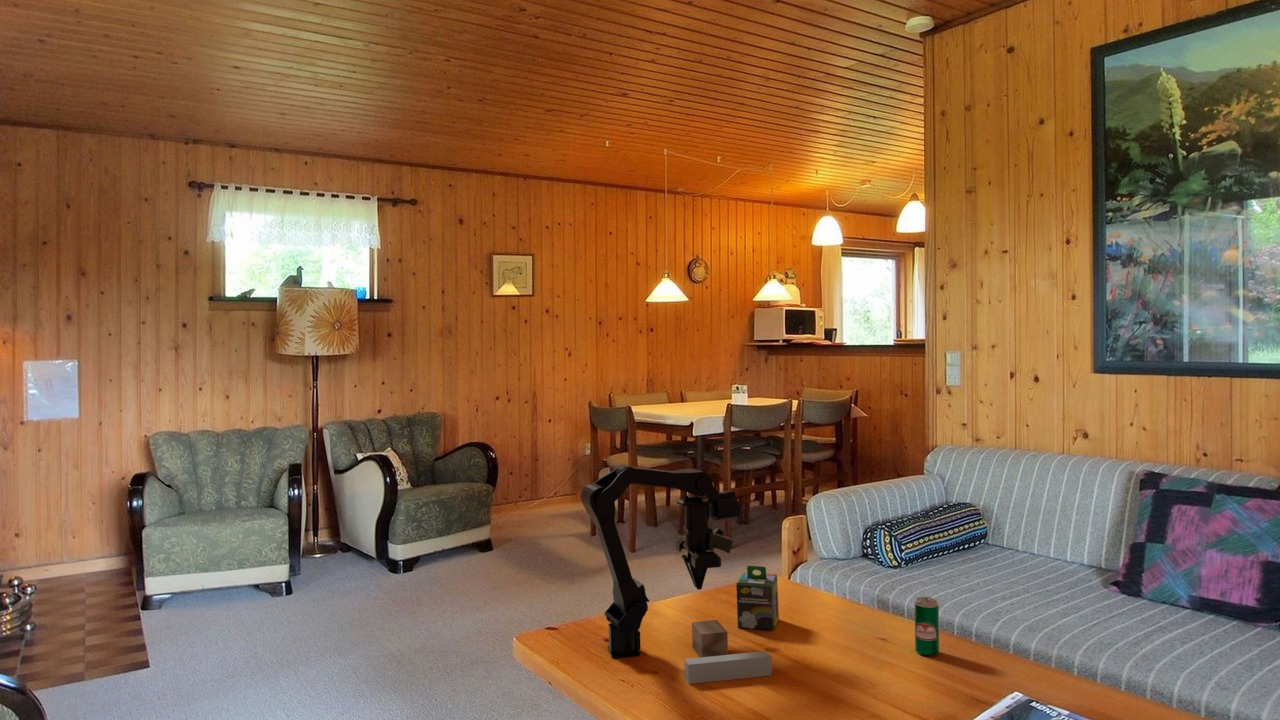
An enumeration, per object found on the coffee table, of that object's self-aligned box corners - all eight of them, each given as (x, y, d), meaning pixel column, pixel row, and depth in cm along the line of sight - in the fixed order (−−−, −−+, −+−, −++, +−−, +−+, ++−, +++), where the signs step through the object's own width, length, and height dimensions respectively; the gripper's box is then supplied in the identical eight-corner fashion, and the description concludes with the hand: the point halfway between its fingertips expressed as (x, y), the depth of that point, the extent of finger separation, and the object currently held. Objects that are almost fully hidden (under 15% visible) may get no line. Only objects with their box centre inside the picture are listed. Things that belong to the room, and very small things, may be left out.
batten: (688, 684, 160) (688, 664, 160) (684, 678, 163) (684, 659, 163) (771, 675, 164) (771, 656, 164) (766, 669, 167) (766, 651, 167)
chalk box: (779, 619, 198) (778, 561, 198) (774, 632, 189) (773, 571, 189) (743, 616, 201) (742, 558, 201) (736, 628, 192) (735, 568, 192)
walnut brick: (701, 661, 172) (701, 634, 172) (692, 647, 180) (692, 622, 180) (727, 658, 174) (727, 631, 174) (717, 645, 181) (716, 619, 181)
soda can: (913, 655, 173) (912, 601, 173) (917, 647, 178) (916, 594, 178) (937, 659, 171) (937, 604, 171) (940, 651, 176) (940, 597, 175)
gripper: (742, 529, 178) (743, 597, 178) (718, 512, 196) (718, 574, 196) (695, 532, 176) (696, 601, 176) (675, 515, 194) (676, 578, 194)
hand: (698, 588), depth 186 cm, fingers closed
